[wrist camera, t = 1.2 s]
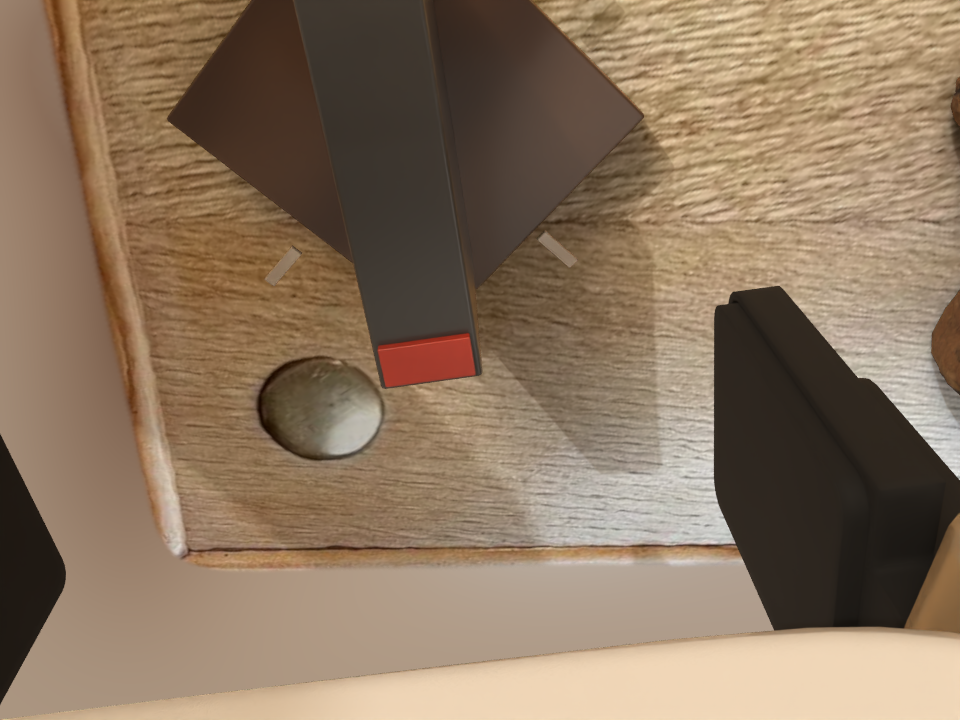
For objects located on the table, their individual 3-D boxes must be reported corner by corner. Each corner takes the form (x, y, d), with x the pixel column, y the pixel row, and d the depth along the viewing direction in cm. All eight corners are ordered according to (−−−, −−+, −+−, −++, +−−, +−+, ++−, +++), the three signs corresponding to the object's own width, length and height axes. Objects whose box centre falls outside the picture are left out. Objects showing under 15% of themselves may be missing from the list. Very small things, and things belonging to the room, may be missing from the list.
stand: (99, 120, 25) (71, 139, 23) (376, -284, 21) (369, -301, 19) (433, 370, 30) (433, 402, 28) (719, 83, 26) (741, 99, 24)
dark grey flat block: (329, -52, 21) (283, -26, 15) (423, -67, 21) (416, -46, 15) (395, 271, 26) (381, 396, 20) (473, 260, 26) (483, 381, 19)
